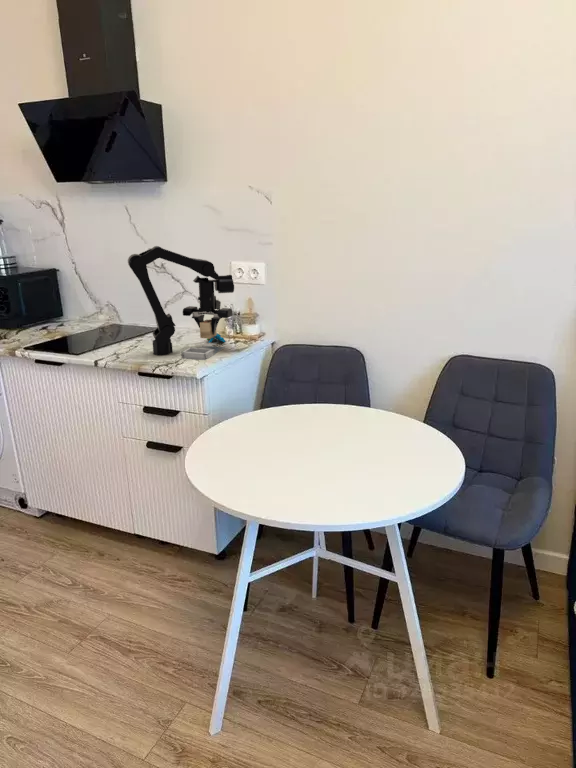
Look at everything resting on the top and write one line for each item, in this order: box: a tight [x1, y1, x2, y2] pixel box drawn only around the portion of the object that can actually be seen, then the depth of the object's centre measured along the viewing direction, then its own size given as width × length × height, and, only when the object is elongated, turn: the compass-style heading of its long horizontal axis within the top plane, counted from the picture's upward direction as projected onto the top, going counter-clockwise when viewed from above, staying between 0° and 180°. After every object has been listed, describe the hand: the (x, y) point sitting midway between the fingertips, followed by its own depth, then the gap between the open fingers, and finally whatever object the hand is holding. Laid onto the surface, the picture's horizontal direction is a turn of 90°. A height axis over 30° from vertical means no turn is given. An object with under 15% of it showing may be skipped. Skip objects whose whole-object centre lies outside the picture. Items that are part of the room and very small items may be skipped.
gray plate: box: [180, 345, 226, 361], centre depth 212 cm, size 20×10×3 cm, turn 164°
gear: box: [206, 333, 226, 344], centre depth 229 cm, size 11×6×10 cm
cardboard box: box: [199, 319, 217, 340], centre depth 214 cm, size 6×4×6 cm, turn 164°
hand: (208, 333), depth 215 cm, fingers closed on cardboard box, 4 cm apart
